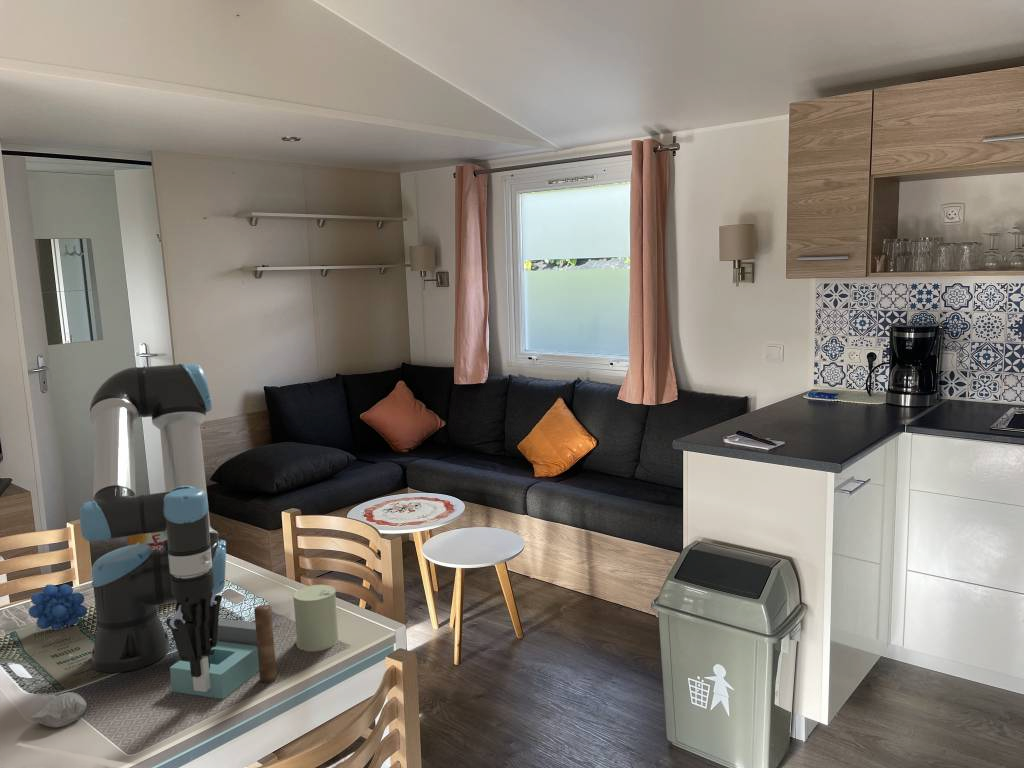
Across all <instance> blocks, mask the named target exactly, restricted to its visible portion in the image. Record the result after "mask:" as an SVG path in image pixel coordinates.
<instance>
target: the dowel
mask: <svg viewBox="0 0 1024 768" xmlns="http://www.w3.org/2000/svg"><path fill="white" fill-rule="evenodd" d="M253 609H254V621H255V624H256V637H257V649H258V661H259V671H258V672H259V682H260V683H262V684H269V683H273V682H275V681H276V680H277V677H278V675H277V666H276V655H275V654H276V652H275V639H274V627H273V626H274V625H273V612H272V605H270V604H261V605H258V606H255V607H254V608H253Z"/></svg>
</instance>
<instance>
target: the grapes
mask: <svg viewBox="0 0 1024 768" xmlns="http://www.w3.org/2000/svg"><path fill="white" fill-rule="evenodd" d="M30 601H31V603H32V604H33V605H32V606H30V607H29V608H28V615H29V616H30V617H31V618H33V619H37V620H36V625H37V627H38V628H39V629H42V630H47V629H49V628H52V629H61V628H62V627H64V626H65V625H74V624H76V623H77V622H78V621H79V620H80V618H83V617H85V616H86V615H87V613H88V609H87V607H86V606H85V605H83V603H84V602H85V596H84V594H83V593H81V592H74V589H73V587H72V586H71V585H69V584H62V585H60V586H59V587H57V586H56V585H55V584H46V585H45V586H44V587H43V588H42V592H35V593H33V594H32V595H31V597H30ZM52 629H51V630H52ZM61 630H62V629H61Z"/></svg>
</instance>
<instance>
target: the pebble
mask: <svg viewBox="0 0 1024 768" xmlns="http://www.w3.org/2000/svg"><path fill="white" fill-rule="evenodd" d="M87 704H88V702H87V701H86V700H85V698H83V696H82V695H80V694H79V693H77V692H71V691H70V692H69V691H68V692H64V693H61V694H59V695H57V696H55V697H52V698H51V699H50V700H49V701H47V703H46V704H45V705H44V706H43V707H42V709H40V710H39V711H37V712H36V713H35V714H34V715H33V716H31V719H32V721H35V722H38V723H40V724H41V725H43V726H46V727H50V728H61V727H65V726H68V725H70V724H72V723H73V722H76V721H79V720H81V717H82V716H83V715H84V713H85V712H86V709H87Z"/></svg>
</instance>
